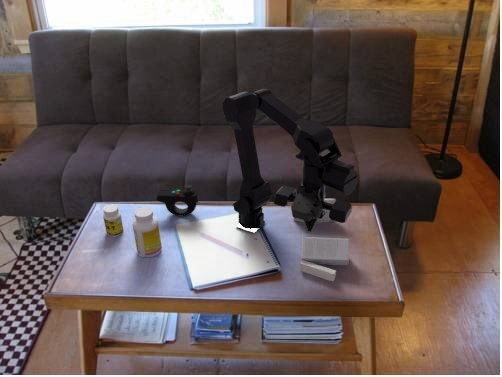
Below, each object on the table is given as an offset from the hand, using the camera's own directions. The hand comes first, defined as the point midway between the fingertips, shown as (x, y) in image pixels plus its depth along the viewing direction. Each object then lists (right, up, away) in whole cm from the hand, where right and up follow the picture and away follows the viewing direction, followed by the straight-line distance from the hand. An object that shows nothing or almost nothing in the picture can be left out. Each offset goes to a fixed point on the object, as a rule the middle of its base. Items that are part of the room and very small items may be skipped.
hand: (310, 231), depth 119 cm
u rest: (+4, -9, +3) cm, 10 cm away
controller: (-37, +3, +23) cm, 43 cm away
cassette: (+3, +1, +20) cm, 20 cm away
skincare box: (-2, -5, +3) cm, 6 cm away
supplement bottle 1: (-54, -2, +15) cm, 56 cm away
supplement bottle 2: (-43, -6, +8) cm, 44 cm away
